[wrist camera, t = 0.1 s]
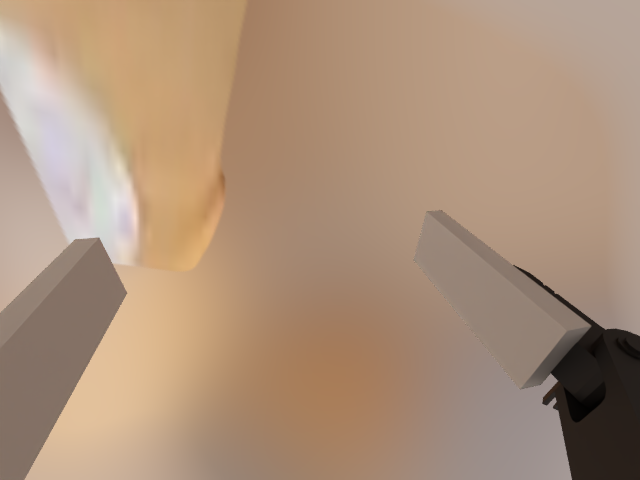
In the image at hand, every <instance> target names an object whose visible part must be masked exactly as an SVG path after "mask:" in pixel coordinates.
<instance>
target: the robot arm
mask: <svg viewBox="0 0 640 480" xmlns="http://www.w3.org/2000/svg"><path fill="white" fill-rule="evenodd" d="M414 261H415V262H416V263H417V265H418V266H419V267H420V268H421V270H422V271H423V272H424V273H425V275H426V276H427V277H428V278H429V279H430V281H431V282H432V283H433V284H434V286H436V288H437V289H438V290H439V291H440V293H441V294H442V295H443V296H444V298H445V299H446V300H447V301H448V303H449V304H450V305H451V306H452V307H453V309H454V310H455V311H456V312H457V313H458V315H459V316H460V317H461V318H462V320H463V321H464V322H465V323H466V324H467V326H468V327H469V328H470V329H471V331H472V332H473V333H474V334H475V335H476V337H477V338H478V339H479V340H480V341H481V343H482V344H483V345H484V346H485V348H486V349H487V350H488V351H489V352H490V354H491V355H492V356H493V357H494V358H495V360H496V361H497V362H498V363H499V364H500V366H501V367H502V368H503V369H504V371H505V372H506V373H507V374H508V376H509V377H510V378H511V379H512V380H513V382H514V383H515V384H516V385H517V386H518V388H519V389H524V388H528V387H533V386H537V385H541V384H542V383H543V381H544V380H545V379H546V378H547V377H548V376H549V375H550V373H551V374H552V375H553V376H554V377H555V378H556V379H557V380H558V382H557V383H556V384H555V385H554V386H553V387H552V389H551V390H550V391H549V392H548V393H547V394H546V395H545V396H544V397H543V404H544V405H548V404H549V403H550V401H552V399H553V398H554V397H555V398H556V401H557V403H556V404H555V405H554V406H553V408H554V409H556V410H558V411H559V416H560V420H561V426H562V431H563V436H564V441H565V446H566V451H567V456H568V461H569V466H570V471H571V476H572V480H640V336H638V335H636V334H633V333H631V332H628V331H624V330H619V329H607V330H605V329H604V328H602V327H601V326H599V325H598V324H597V323H595V322H594V321H593V320H591V319H590V318H589V317H587V316H586V315H585V314H583V313H582V312H581V311H579V310H578V309H577V308H575V307H574V306H573V305H571V304H570V303H569V302H568V301H566V300H565V299H564V298H562V297H561V296H560V295H558V294H555V293H554V291H553V290H551V289H550V288H549V287H548V286H546V285H545V286H544V285H543V283H542V282H541V281H540V280H538V279H537V278H536V277H534V276H533V275H532V274H530V273H529V272H527V271H525V270H523V269H521V268H519V267H517V266H515V265H512V264H511V263H509V262H508V261H507V260H505V259H504V258H503V257H501V256H500V255H499V254H498V253H496V252H495V251H494V250H492V249H491V248H490V247H488V246H487V245H486V244H485V243H483V242H482V241H481V240H479V239H478V238H477V237H475V236H474V235H473V234H472V233H470V232H469V231H468V230H466V229H465V228H464V227H463V226H461V225H460V224H459V223H457V222H456V221H455V220H453V219H452V218H451V217H450V216H448V215H447V214H446V213H445V212H443V211H442V210H439V211H427V212H426V216H425V219H424V223H423V227H422V230H421V234H420V238H419V242H418V245H417V249H416V253H415V256H414ZM126 294H127V292H126V290H125V288H124V286H123V284H122V282H121V280H120V278H119V276H118V274H117V272H116V270H115V268H114V266H113V264H112V262H111V260H110V258H109V256H108V254H107V252H106V250H105V248H104V246H103V244H102V242H101V240H100V238H88V239H76V240H74V241H73V242H72V243H71V244H70V245H69V246H68V247H67V248H66V249H65V250H64V251H63V252H62V253H61V254H60V255H59V256H58V257H57V258H56V259H55V260H54V261H53V262H52V263H51V264H50V265H49V266H48V267H47V268H45V270H43V271H42V273H40V274H39V275H38V276H37V277H36V278H35V279H34V280H33V281H32V282H31V283H30V284H29V285H28V286H27V287H26V288H25V289H24V290H23V291H22V292H21V293H20V294H19V295H18V296H17V297H16V298H15V299H14V300H13V301H12V302H11V303H10V304H9V305H8V306H7V307H6V308H5V309H4V310H3V311H2V312H1V313H0V480H24V479H25V478H26V476H27V474H28V472H29V470H30V469H31V467H32V465H33V463H34V461H35V459H36V458H37V456H38V454H39V452H40V450H41V449H42V447H43V445H44V443H45V441H46V439H47V438H48V436H49V434H50V432H51V430H52V429H53V427H54V425H55V423H56V421H57V419H58V418H59V416H60V414H61V412H62V410H63V409H64V407H65V405H66V403H67V401H68V399H69V398H70V396H71V394H72V392H73V391H74V389H75V387H76V385H77V383H78V381H79V380H80V378H81V376H82V374H83V372H84V371H85V369H86V367H87V365H88V363H89V362H90V360H91V358H92V356H93V354H94V352H95V351H96V348H97V347H98V345H99V343H100V341H101V340H102V338H103V336H104V334H105V333H106V331H107V329H108V327H109V325H110V323H111V321H112V320H113V318H114V316H115V314H116V313H117V311H118V309H119V307H120V305H121V304H122V302H123V300H124V298H125V296H126Z"/></svg>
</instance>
